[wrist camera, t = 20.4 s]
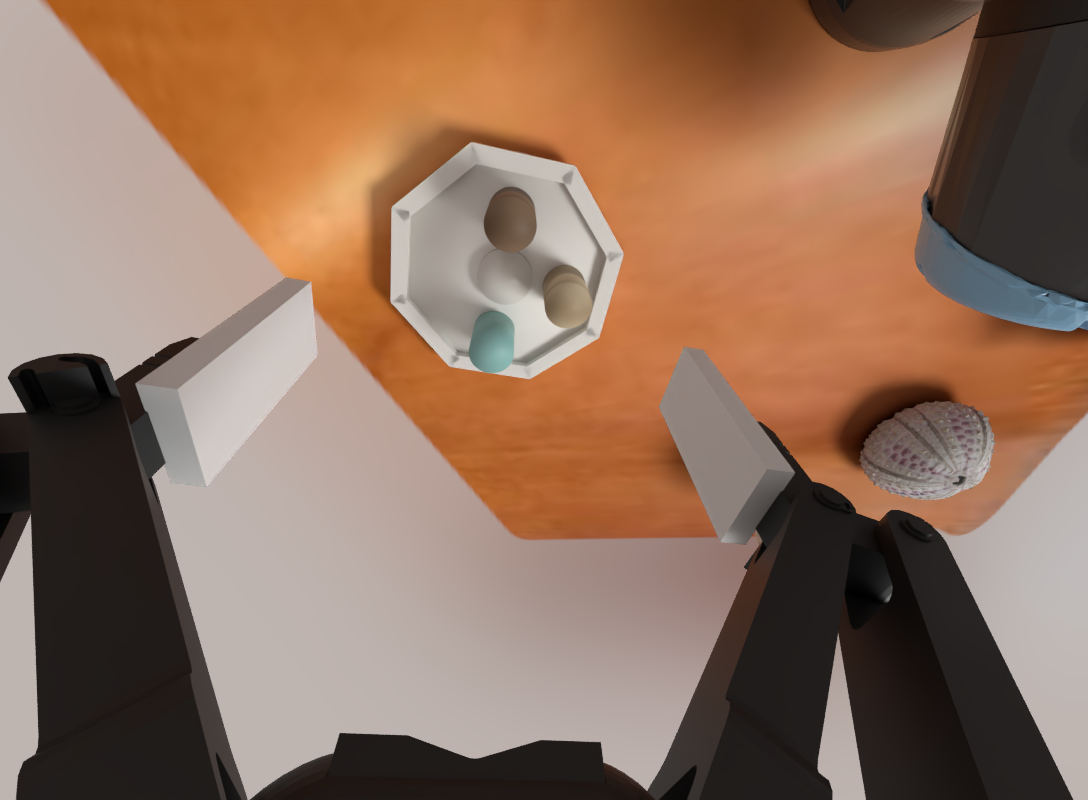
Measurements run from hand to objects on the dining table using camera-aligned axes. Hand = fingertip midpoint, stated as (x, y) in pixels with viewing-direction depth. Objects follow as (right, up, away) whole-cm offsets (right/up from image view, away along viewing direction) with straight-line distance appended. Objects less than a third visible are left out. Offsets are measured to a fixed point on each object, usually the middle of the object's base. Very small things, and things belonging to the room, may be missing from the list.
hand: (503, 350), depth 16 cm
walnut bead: (-1, +14, +21) cm, 26 cm away
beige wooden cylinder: (+3, +9, +25) cm, 27 cm away
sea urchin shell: (+47, -6, +39) cm, 61 cm away
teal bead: (-3, +5, +27) cm, 28 cm away
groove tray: (-2, +10, +25) cm, 27 cm away
